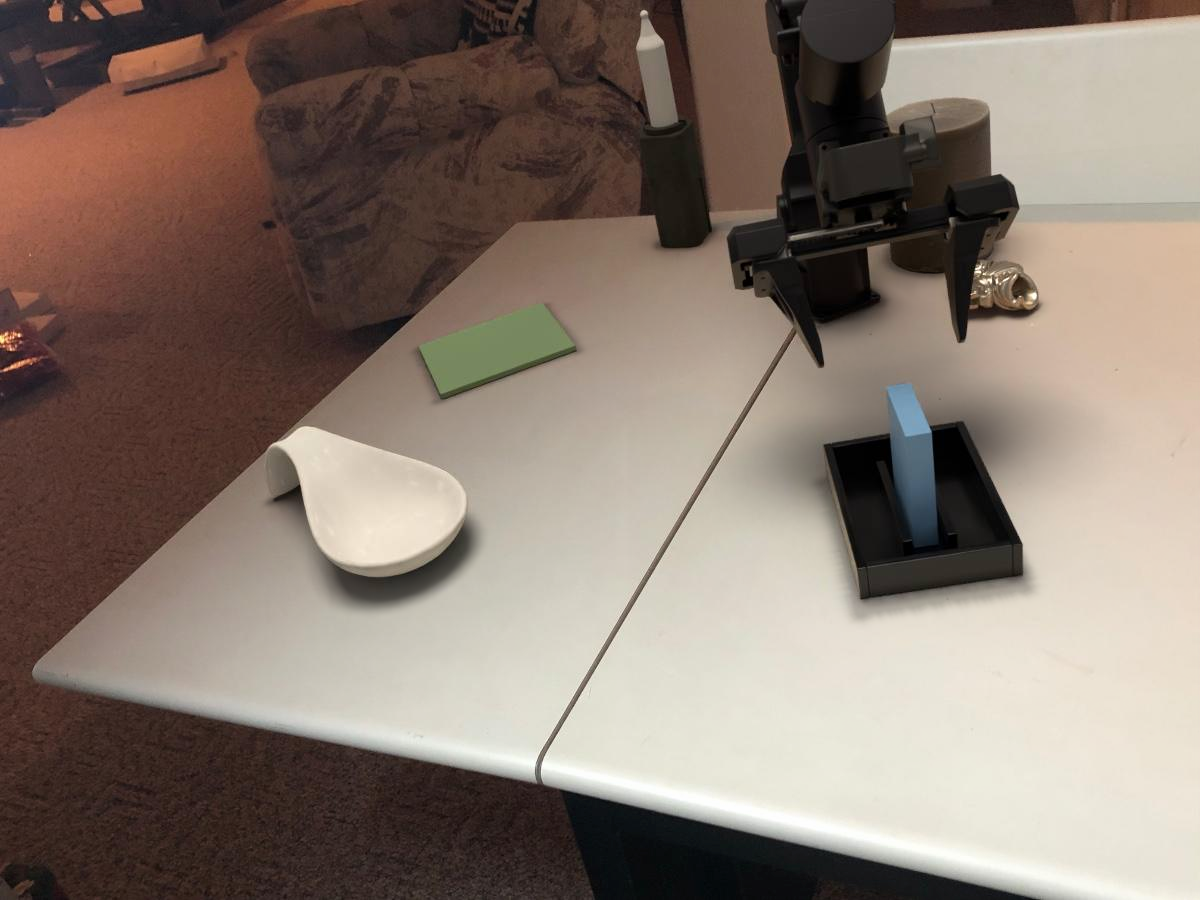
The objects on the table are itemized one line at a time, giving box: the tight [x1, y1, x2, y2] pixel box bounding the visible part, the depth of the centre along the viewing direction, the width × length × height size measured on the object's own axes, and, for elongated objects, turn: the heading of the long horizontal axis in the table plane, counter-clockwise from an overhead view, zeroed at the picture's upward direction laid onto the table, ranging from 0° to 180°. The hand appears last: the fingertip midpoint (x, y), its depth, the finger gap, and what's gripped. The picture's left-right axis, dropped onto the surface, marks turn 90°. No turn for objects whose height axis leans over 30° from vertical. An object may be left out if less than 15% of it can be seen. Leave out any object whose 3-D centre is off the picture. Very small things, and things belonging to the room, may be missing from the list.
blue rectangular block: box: [885, 382, 938, 548], centre depth 71 cm, size 6×2×9 cm, turn 179°
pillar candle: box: [886, 96, 994, 273], centre depth 103 cm, size 10×10×15 cm
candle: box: [635, 9, 713, 248], centre depth 116 cm, size 5×5×25 cm
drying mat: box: [418, 301, 577, 400], centre depth 110 cm, size 14×12×1 cm
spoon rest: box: [263, 425, 469, 578], centre depth 87 cm, size 24×12×7 cm, turn 46°
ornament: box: [970, 259, 1040, 312], centre depth 95 cm, size 8×7×4 cm
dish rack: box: [822, 420, 1024, 600], centre depth 73 cm, size 14×10×4 cm
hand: (891, 354), depth 72 cm, fingers open, 9 cm apart
